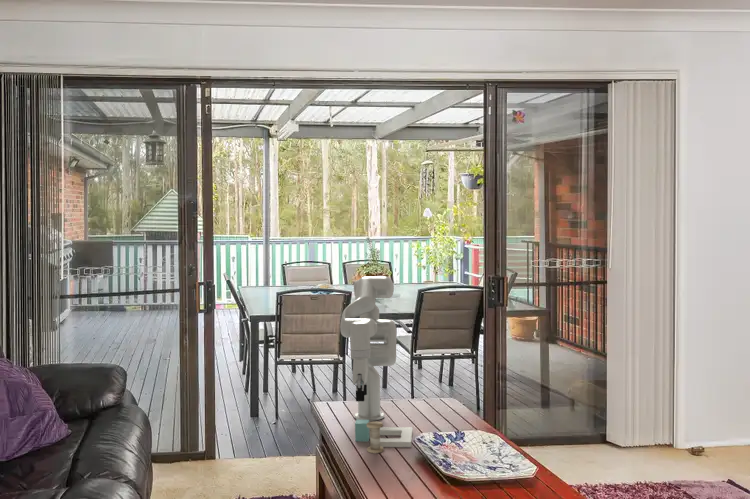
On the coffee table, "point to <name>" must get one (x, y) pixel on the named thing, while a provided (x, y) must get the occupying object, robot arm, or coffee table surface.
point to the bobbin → (375, 437)
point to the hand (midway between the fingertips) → (361, 398)
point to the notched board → (396, 442)
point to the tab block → (361, 430)
